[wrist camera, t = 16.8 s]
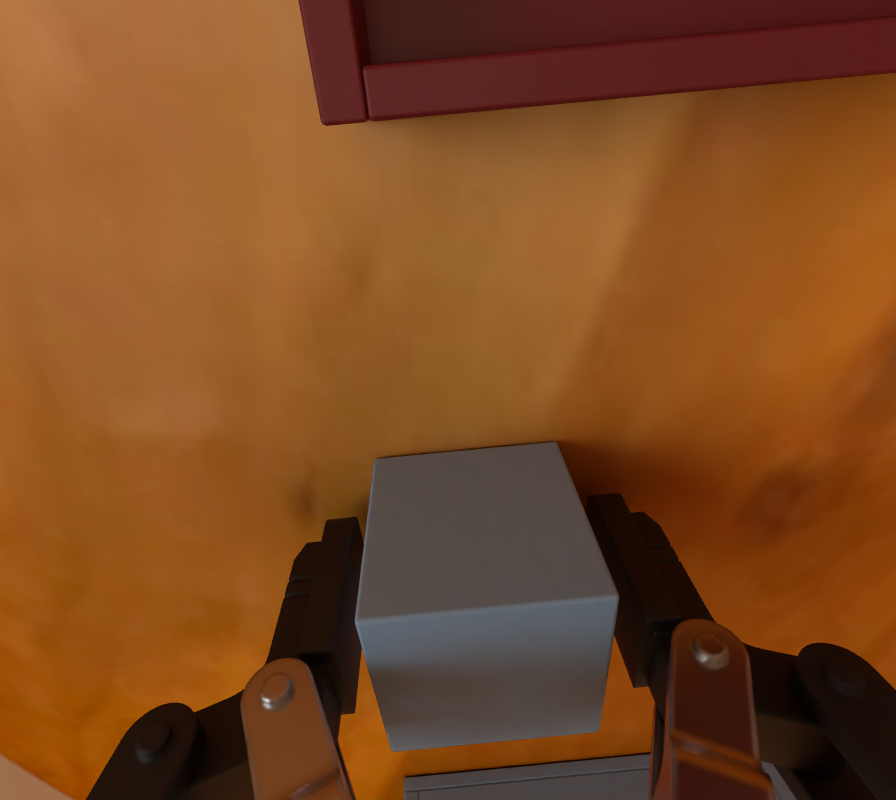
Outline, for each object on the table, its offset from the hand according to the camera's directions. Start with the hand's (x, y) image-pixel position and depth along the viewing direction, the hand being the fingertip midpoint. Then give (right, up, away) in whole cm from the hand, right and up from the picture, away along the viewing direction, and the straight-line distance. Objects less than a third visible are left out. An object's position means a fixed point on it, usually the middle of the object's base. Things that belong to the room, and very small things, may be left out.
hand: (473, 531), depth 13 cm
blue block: (0, 0, +1) cm, 1 cm away
